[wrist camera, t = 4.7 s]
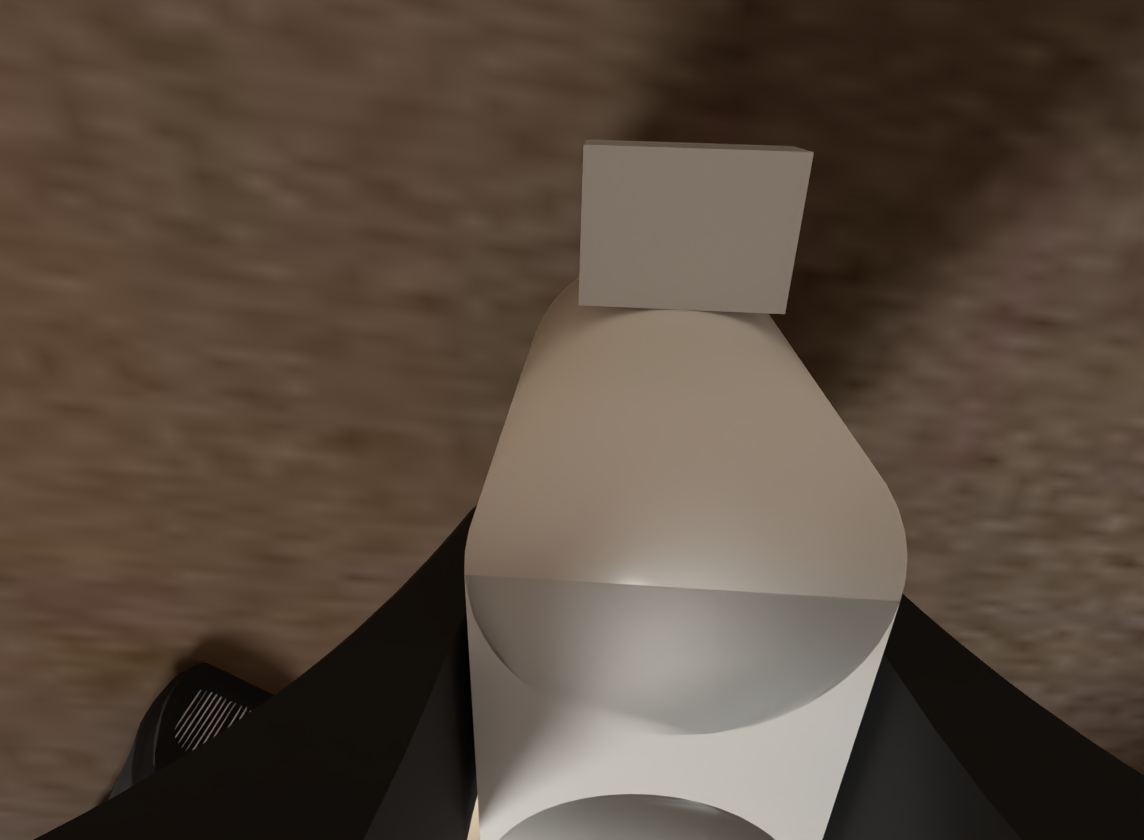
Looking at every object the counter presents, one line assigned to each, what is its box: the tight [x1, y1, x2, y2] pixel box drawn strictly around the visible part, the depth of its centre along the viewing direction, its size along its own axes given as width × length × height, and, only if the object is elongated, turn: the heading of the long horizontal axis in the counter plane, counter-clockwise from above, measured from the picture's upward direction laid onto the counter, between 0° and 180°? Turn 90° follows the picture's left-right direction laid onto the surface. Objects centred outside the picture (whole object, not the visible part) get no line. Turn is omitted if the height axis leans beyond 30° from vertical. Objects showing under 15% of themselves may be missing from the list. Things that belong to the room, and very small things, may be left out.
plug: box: [464, 139, 907, 840], centre depth 9 cm, size 11×4×5 cm, turn 178°
